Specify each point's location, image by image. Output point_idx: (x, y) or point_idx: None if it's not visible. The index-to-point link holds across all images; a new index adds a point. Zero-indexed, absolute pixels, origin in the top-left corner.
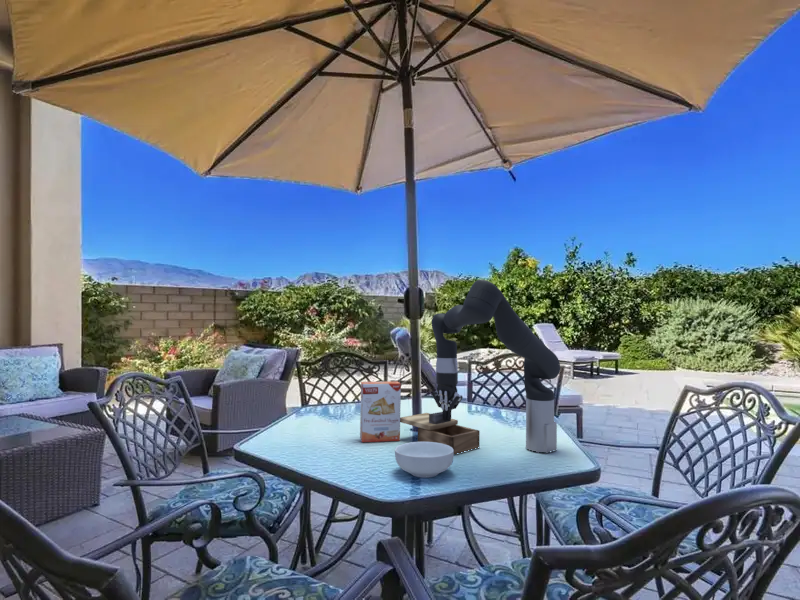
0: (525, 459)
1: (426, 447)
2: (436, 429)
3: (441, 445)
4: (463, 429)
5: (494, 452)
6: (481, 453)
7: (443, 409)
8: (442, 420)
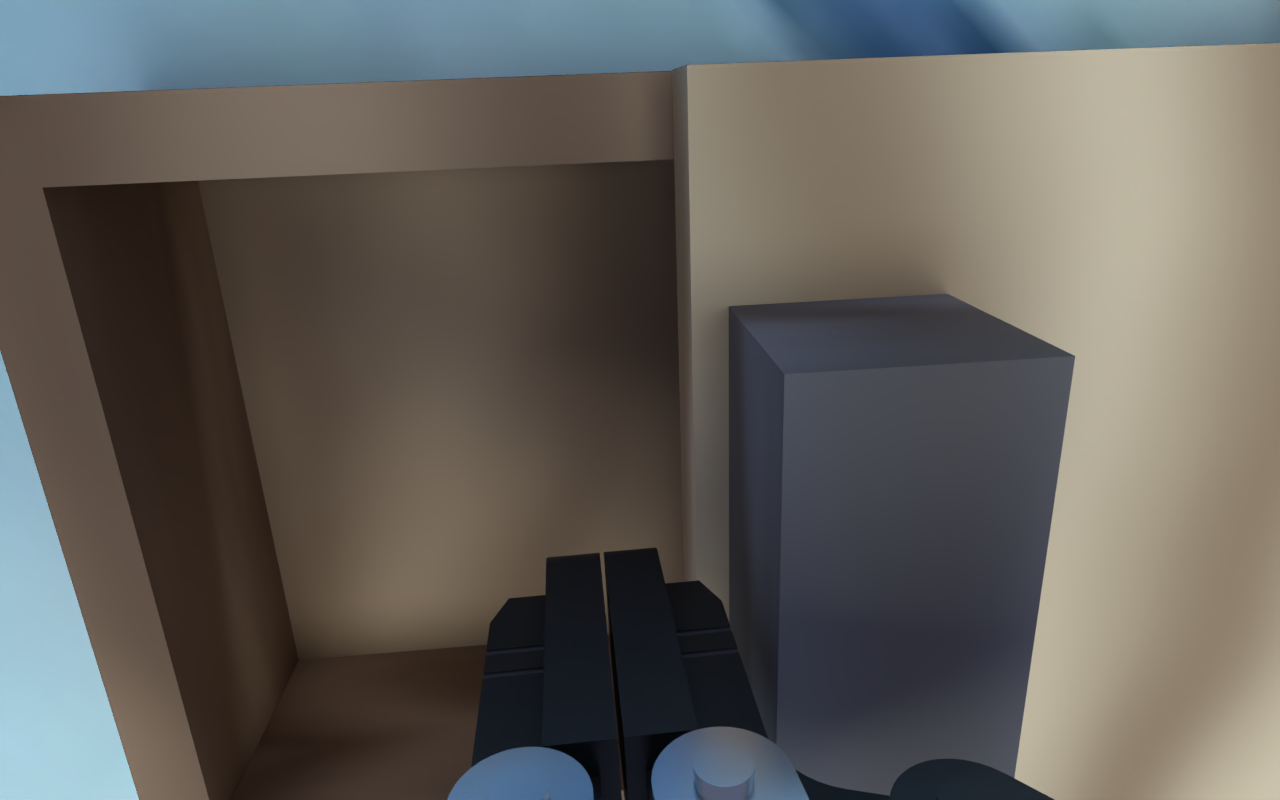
0: None
1: None
2: None
3: None
4: None
5: (19, 704)
6: (56, 550)
7: (679, 748)
8: (738, 575)
